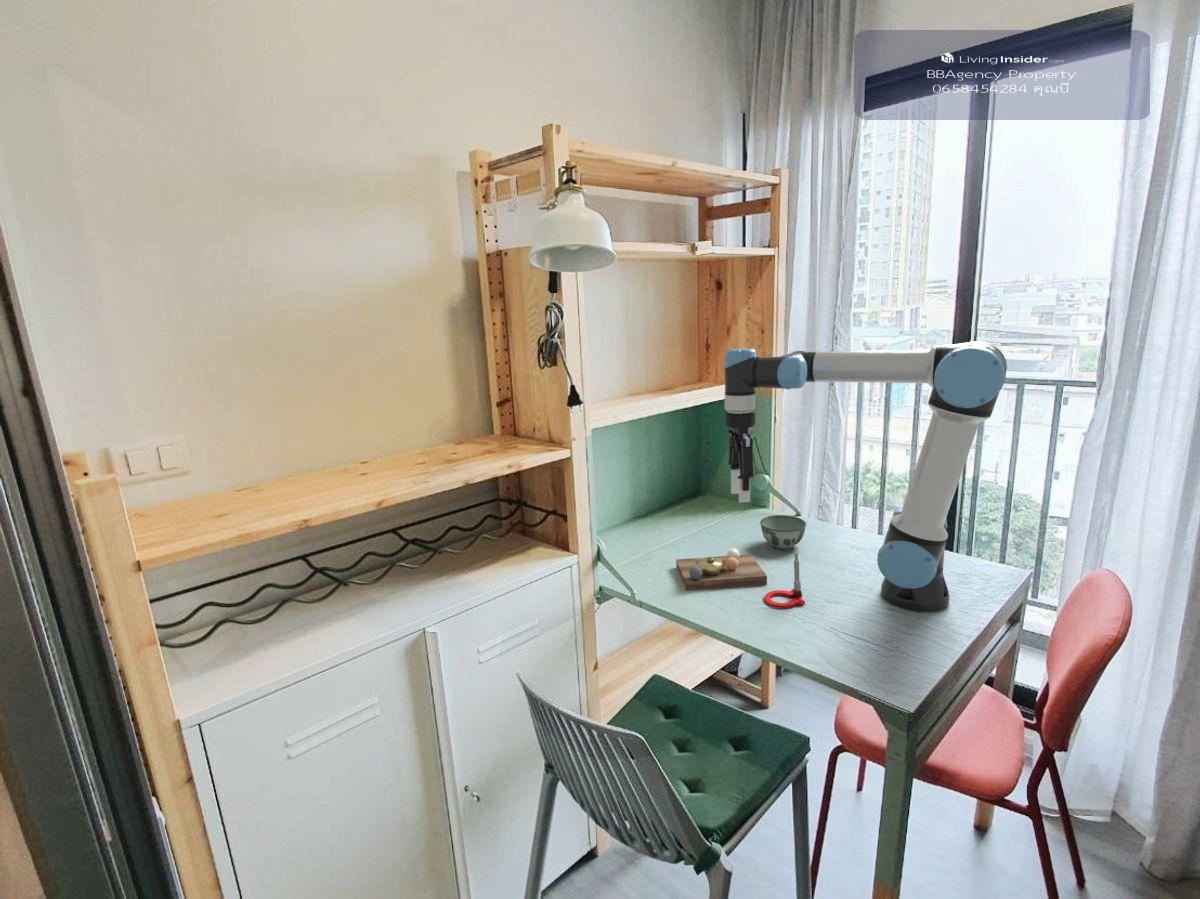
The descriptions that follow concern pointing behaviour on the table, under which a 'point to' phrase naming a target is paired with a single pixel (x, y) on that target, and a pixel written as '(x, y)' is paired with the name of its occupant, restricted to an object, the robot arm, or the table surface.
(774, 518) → the bowl
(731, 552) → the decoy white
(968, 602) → the table surface
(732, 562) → the ball
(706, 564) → the cover
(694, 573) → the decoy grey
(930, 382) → the robot arm
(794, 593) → the tow hook
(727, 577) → the brown wooden flat board
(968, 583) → the table surface
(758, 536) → the table surface
